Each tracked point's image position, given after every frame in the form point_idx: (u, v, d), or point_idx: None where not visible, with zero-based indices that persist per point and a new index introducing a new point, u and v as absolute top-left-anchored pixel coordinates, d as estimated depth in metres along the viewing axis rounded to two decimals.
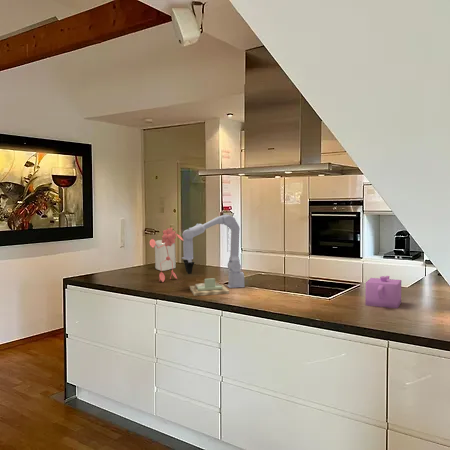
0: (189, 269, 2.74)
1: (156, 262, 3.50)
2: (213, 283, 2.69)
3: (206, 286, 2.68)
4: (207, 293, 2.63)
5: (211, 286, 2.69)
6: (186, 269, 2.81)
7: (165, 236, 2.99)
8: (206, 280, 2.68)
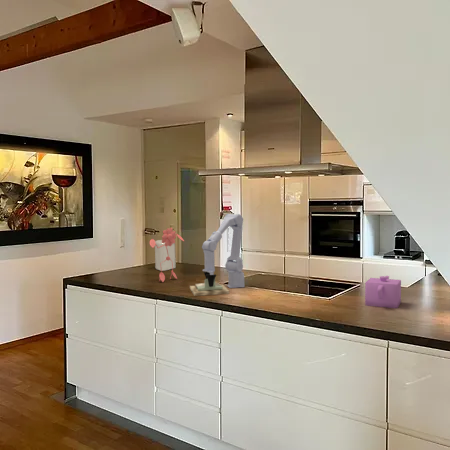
0: (211, 282, 2.65)
1: (156, 262, 3.50)
2: None
3: (206, 286, 2.68)
4: (207, 293, 2.63)
5: None
6: None
7: (165, 236, 2.99)
8: (206, 280, 2.68)
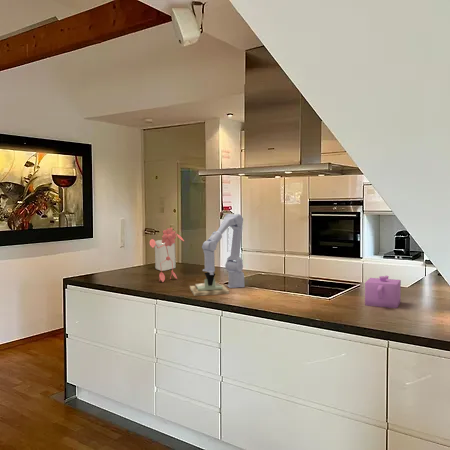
0: (210, 281, 2.68)
1: (156, 262, 3.50)
2: (213, 283, 2.69)
3: (206, 286, 2.68)
4: (207, 293, 2.63)
5: (211, 286, 2.69)
6: (208, 282, 2.70)
7: (165, 236, 2.99)
8: (206, 280, 2.68)
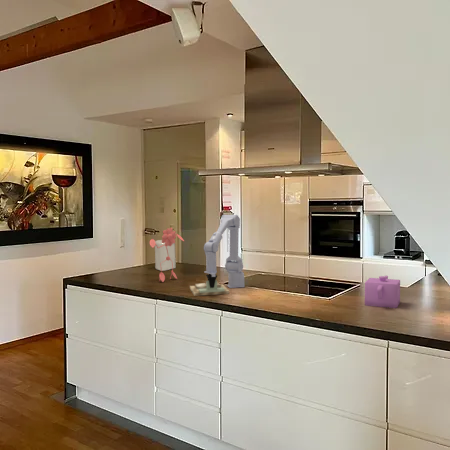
0: (211, 283, 2.62)
1: (156, 262, 3.50)
2: (215, 285, 2.63)
3: (208, 288, 2.63)
4: (207, 293, 2.63)
5: (213, 288, 2.63)
6: (209, 284, 2.64)
7: (165, 236, 2.99)
8: (208, 282, 2.62)
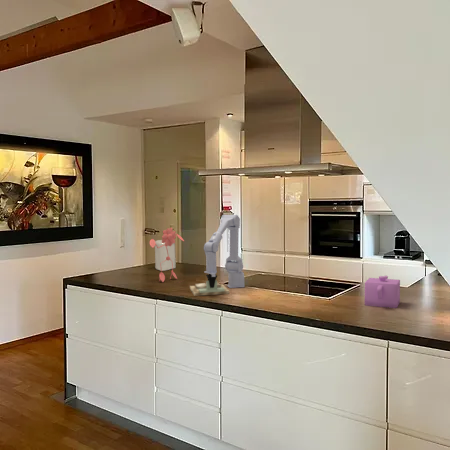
0: (211, 283, 2.62)
1: (156, 262, 3.50)
2: (215, 285, 2.63)
3: (208, 288, 2.63)
4: (207, 293, 2.63)
5: (213, 288, 2.63)
6: (209, 284, 2.64)
7: (165, 236, 2.99)
8: (208, 282, 2.62)
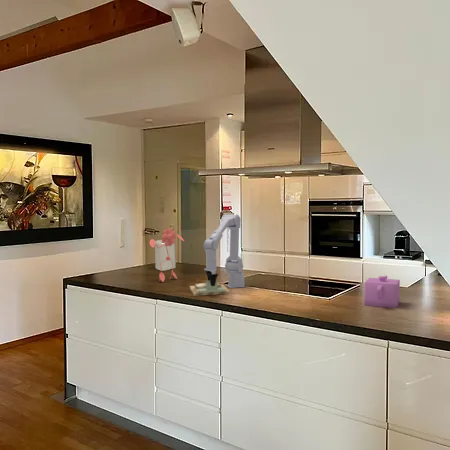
0: (212, 281, 2.59)
1: (156, 262, 3.50)
2: (215, 285, 2.63)
3: (208, 288, 2.63)
4: (207, 293, 2.63)
5: (213, 288, 2.63)
6: None
7: (165, 236, 2.99)
8: (208, 282, 2.62)
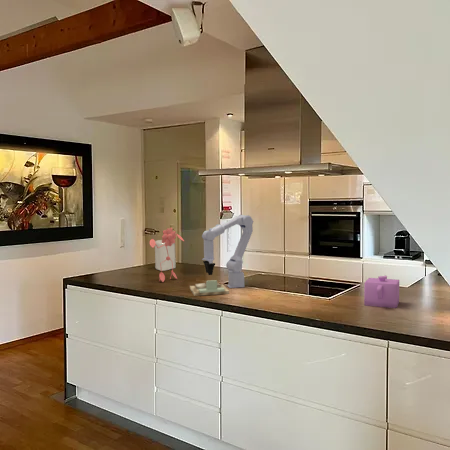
0: (210, 270, 2.73)
1: (156, 262, 3.50)
2: (215, 285, 2.63)
3: (208, 288, 2.63)
4: (207, 293, 2.63)
5: (213, 288, 2.63)
6: (206, 270, 2.80)
7: (165, 236, 2.99)
8: (208, 282, 2.62)
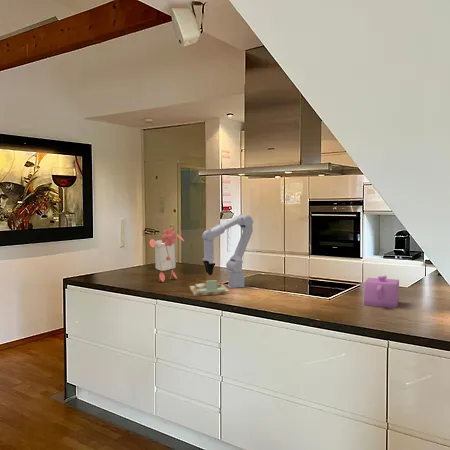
0: (210, 270, 2.73)
1: (156, 262, 3.50)
2: (215, 285, 2.63)
3: (208, 288, 2.63)
4: (207, 293, 2.63)
5: (213, 288, 2.63)
6: (206, 270, 2.80)
7: (165, 236, 2.99)
8: (208, 282, 2.62)
